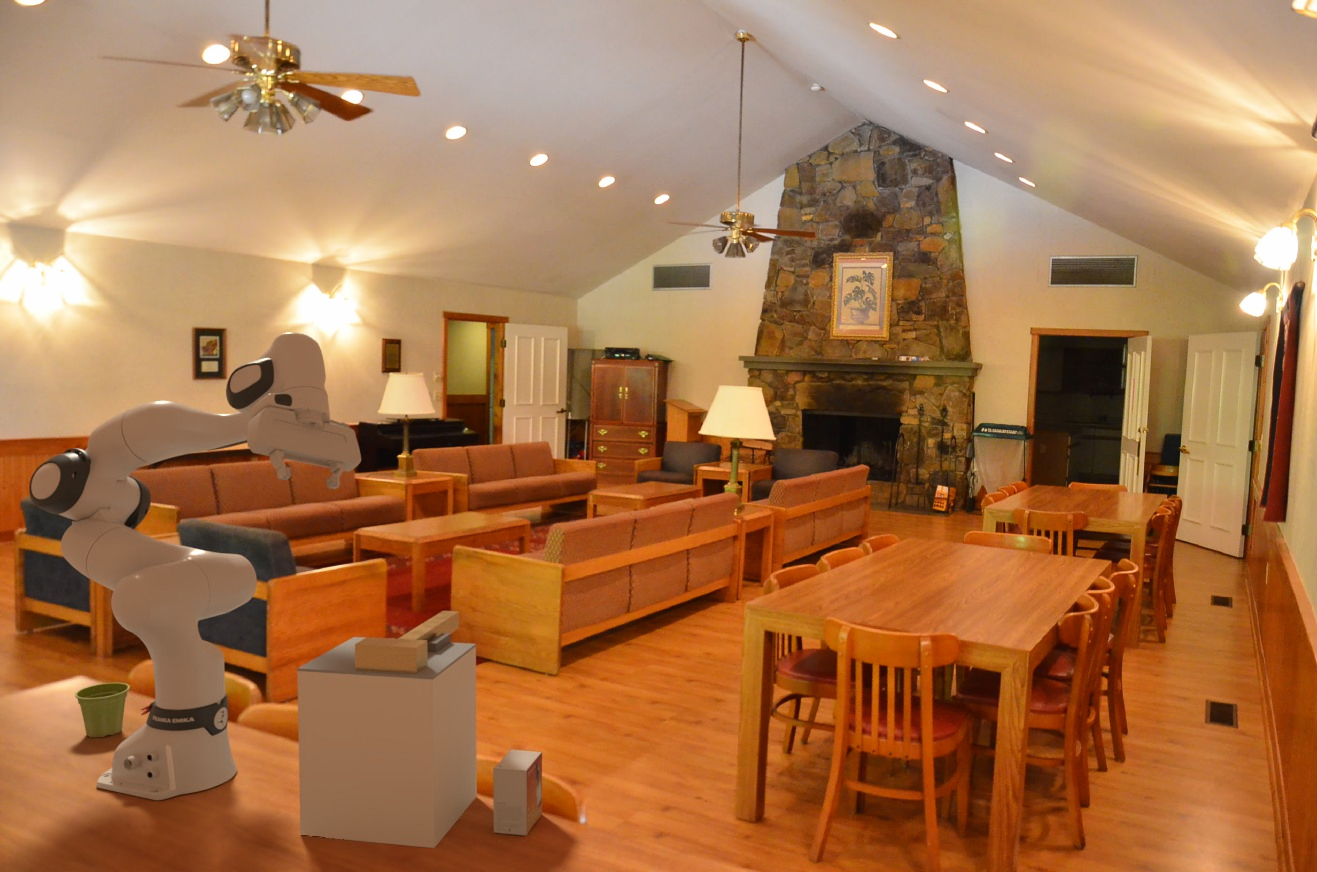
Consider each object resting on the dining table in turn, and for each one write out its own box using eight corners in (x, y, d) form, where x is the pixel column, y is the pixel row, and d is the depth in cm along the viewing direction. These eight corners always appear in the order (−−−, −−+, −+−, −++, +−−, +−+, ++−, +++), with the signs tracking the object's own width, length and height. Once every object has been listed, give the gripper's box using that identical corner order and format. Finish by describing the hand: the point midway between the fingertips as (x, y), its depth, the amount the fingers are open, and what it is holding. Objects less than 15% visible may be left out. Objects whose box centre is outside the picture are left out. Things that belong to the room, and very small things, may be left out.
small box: (526, 837, 148) (526, 770, 147) (492, 833, 149) (492, 767, 149) (543, 814, 156) (543, 751, 155) (510, 810, 157) (510, 748, 156)
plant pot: (113, 741, 185) (112, 698, 185) (65, 741, 185) (64, 697, 185) (140, 724, 194) (139, 682, 194) (94, 723, 195) (93, 682, 194)
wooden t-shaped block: (355, 669, 146) (354, 644, 146) (424, 626, 172) (424, 604, 171) (416, 673, 144) (416, 647, 144) (477, 628, 170) (477, 606, 170)
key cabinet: (300, 835, 148) (297, 658, 146) (356, 786, 166) (353, 628, 164) (434, 847, 144) (432, 666, 143) (476, 796, 162) (475, 634, 160)
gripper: (343, 433, 179) (351, 499, 173) (240, 408, 164) (244, 480, 158) (363, 418, 176) (371, 485, 170) (260, 391, 161) (265, 464, 155)
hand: (309, 482), depth 164 cm, fingers open, 8 cm apart
